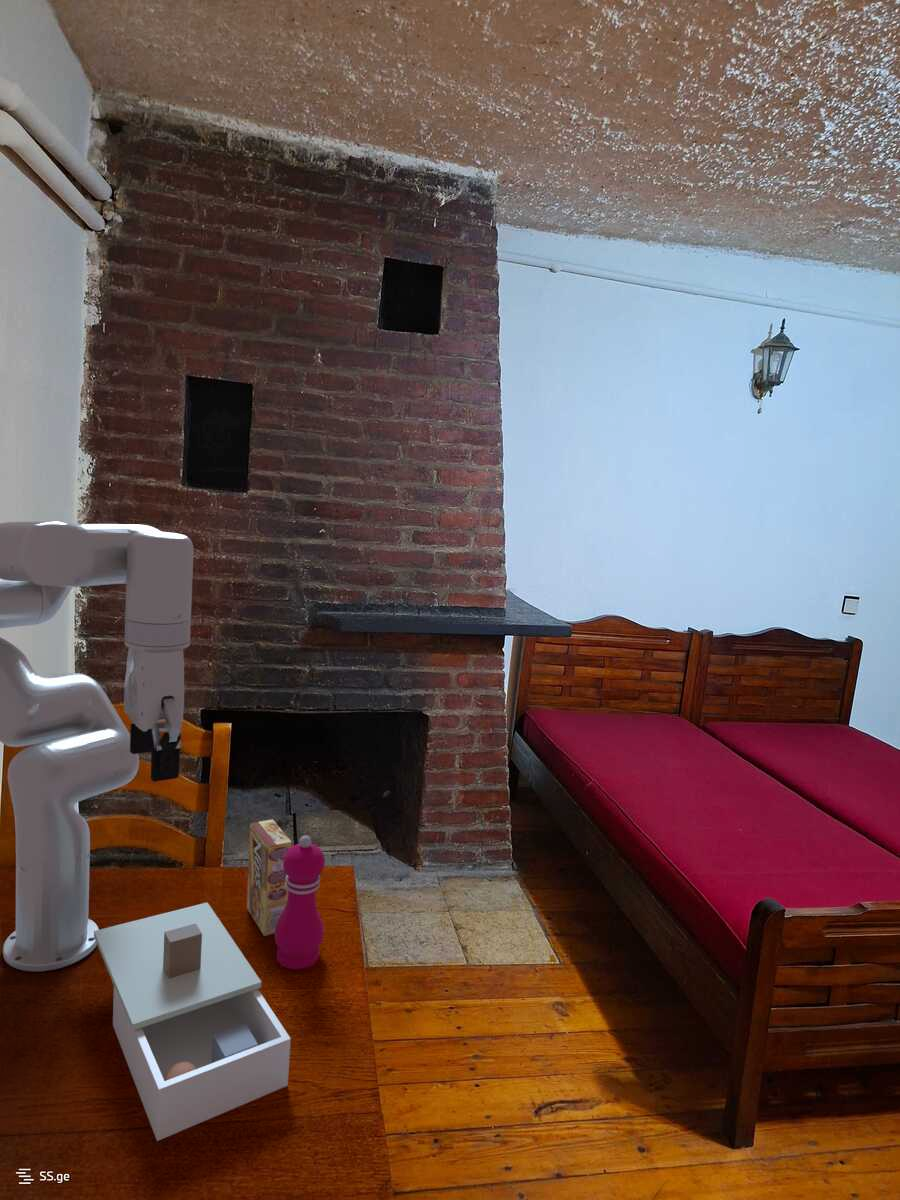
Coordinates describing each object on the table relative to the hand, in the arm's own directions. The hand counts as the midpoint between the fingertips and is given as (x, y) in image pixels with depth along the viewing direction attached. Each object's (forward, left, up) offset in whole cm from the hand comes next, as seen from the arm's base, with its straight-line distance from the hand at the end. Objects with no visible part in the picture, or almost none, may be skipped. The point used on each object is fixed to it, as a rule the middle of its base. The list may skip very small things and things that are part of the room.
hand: (153, 765), depth 96 cm
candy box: (-12, +22, -34) cm, 43 cm away
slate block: (+17, +6, -34) cm, 38 cm away
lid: (+2, +3, -27) cm, 27 cm away
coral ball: (+17, 0, -34) cm, 38 cm away
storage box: (+12, +3, -34) cm, 36 cm away
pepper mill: (0, +22, -34) cm, 41 cm away
